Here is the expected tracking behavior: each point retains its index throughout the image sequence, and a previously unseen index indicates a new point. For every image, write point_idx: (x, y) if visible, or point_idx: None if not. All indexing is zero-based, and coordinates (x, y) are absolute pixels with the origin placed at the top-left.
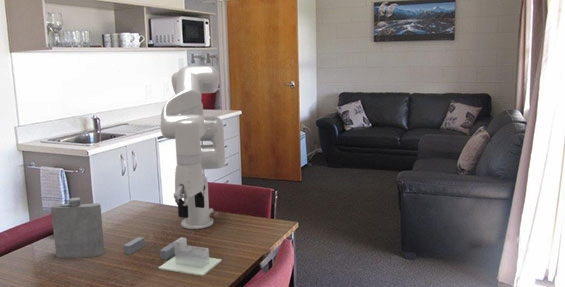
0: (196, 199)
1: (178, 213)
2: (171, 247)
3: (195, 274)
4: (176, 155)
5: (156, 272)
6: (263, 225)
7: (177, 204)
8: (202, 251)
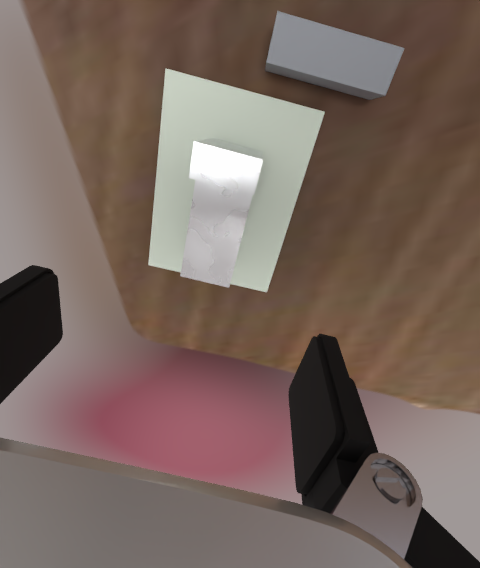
0: (318, 409)
1: (9, 278)
2: (316, 72)
3: (152, 238)
4: None
5: (136, 75)
6: None
7: None
8: (194, 273)
